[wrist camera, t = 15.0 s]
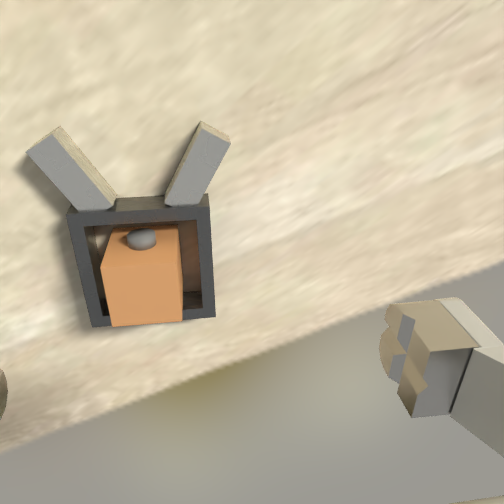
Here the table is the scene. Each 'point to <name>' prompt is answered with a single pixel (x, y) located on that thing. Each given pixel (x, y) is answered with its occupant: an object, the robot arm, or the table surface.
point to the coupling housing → (133, 210)
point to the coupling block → (143, 275)
